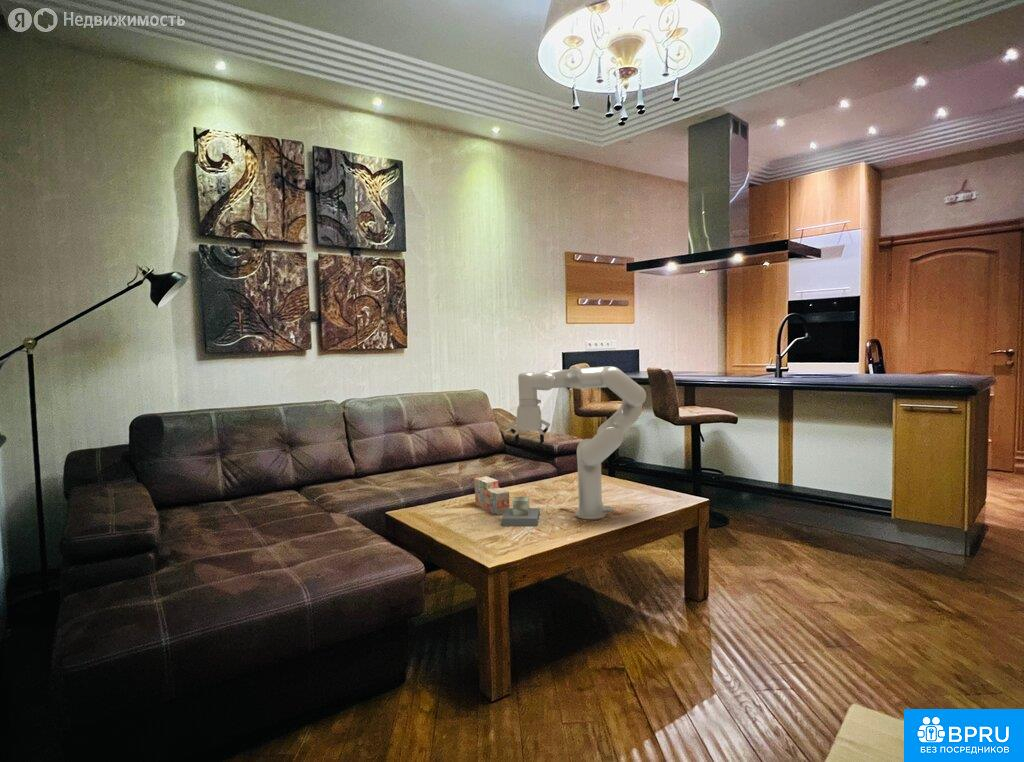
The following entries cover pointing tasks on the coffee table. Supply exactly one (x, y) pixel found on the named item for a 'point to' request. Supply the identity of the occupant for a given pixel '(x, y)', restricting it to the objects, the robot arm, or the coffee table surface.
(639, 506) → the coffee table surface
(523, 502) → the sage cube
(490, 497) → the stack of blocks
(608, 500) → the coffee table surface
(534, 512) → the plinth
